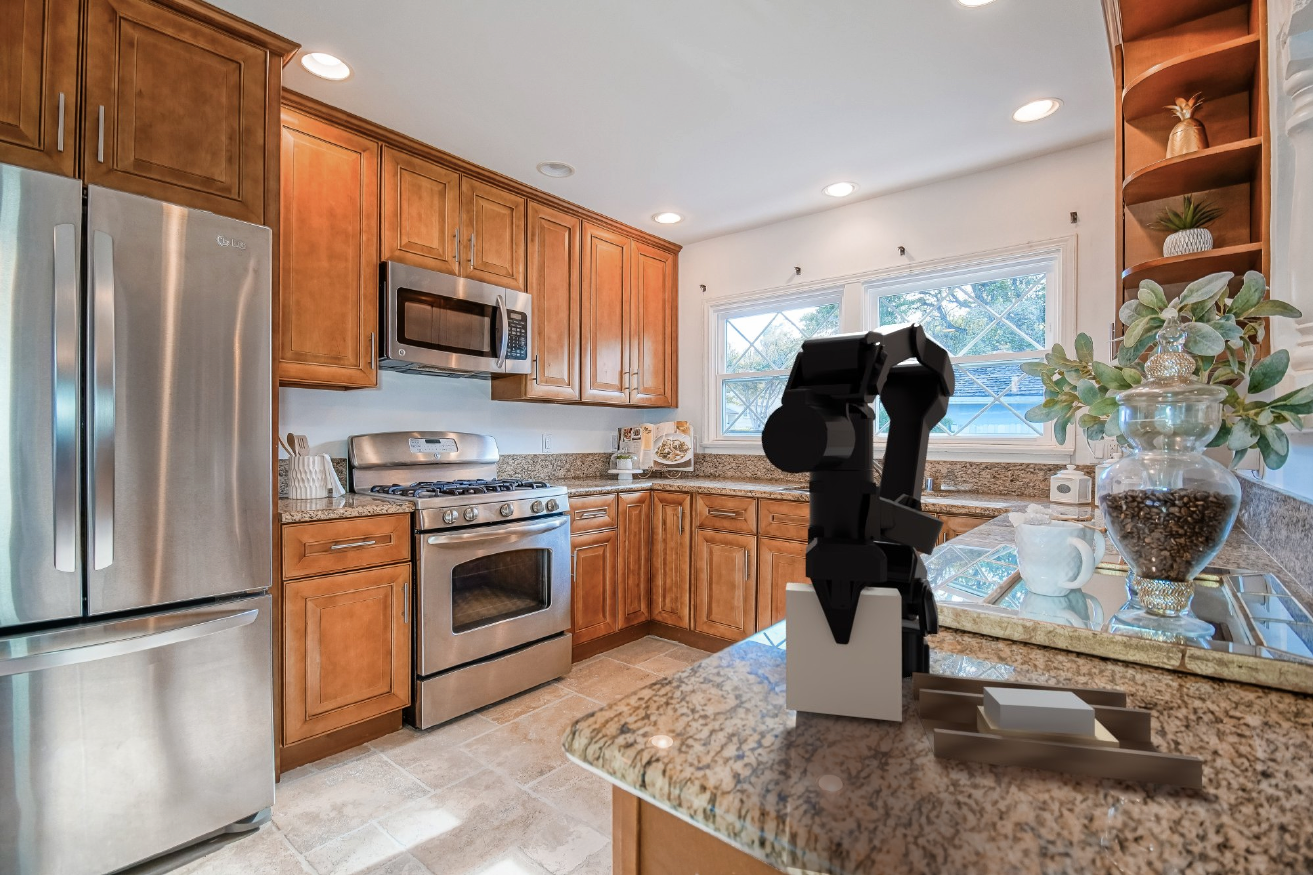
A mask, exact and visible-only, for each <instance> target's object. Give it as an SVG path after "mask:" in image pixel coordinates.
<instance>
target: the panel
mask: <svg viewBox="0 0 1313 875" xmlns="http://www.w3.org/2000/svg"><path fill="white" fill-rule="evenodd" d="M902 680H903V678H902V627H901V595H900V593H899V591H898V589H894V588H876V587H865V588H864V589H863V590H862V591H861V593H860V597H859V601H858V605H857V610H856V614H855V618H854V623H853V627H852V631H851V636H850V640H849V643H848V644H846V645H845V644H837V643H836V642H835V639H834V637H833V634H832V632H831V629H830V627H829V624H828V622H827V619H826V617H825V614H824V612H823V609H822V607H821V604H820V602H819V599H818V597H817V595H816V592H815V590H814V587H813V585H812V583H803V582H802V583H801V582H800V583H799V582H787V583H786V587H785V710H788V711H798V712H808V713H817V714H826V715H827V714H828V715H838V716H846V717H856V718H865V719H866V718H867V719H874V720H875V719H876V720H884V721H894V722H902V721H903V716H902V715H903V698H902V697H903V694H902V693H903V690H902V689H903V688H902V686H903V685H902V684H903V683H902V682H903V681H902Z"/></svg>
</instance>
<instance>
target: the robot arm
mask: <svg viewBox="0 0 1313 875" xmlns="http://www.w3.org/2000/svg"><path fill="white" fill-rule="evenodd" d="M800 348H801V350H799V351H798V352H797V353H796V356H795V359H794V361H793V365H792V368H791V370H790V373H789V375H788V378H787V382H786V385H785V388H784V389H783V393H782V396H781V398H780V403H781V405H780V406H779V407H777V408H776V409H775V410H773V411H772V413H771V414H770V415H769V416H768V418H767V420H766V422H764V427H763V430H762V431H761V437H760V438H761V439H760V440H761V446H762V451H763V452H764V455H765V456H766V458H767V460H768V462H769V463H770V464H772V466H774V467H775V468H776V469H778V470H779V471H782V472H784V473H788V474H794V475H795V474H797V475H798V474H807V473H808V474H809V477H808V478H809V479H808V480H809V481H808V493H809V500H808V501H809V502H808V504H809V508H808V509H809V510H808V512H809V517H808V518H809V524H808V526H807V546H806V547H805V554H804V555H805V558H804V559H805V564H804V565H805V568H804V569H805V572H804V574H805V578H808V579H809V580H810V582H811V584H812V585H813V587H814V590H815V592H816V595H817V597H818V599H819V602H820V604H821V607H822V609H823V612H824V614H825V617H826V619H827V622H828V624H829V627H830V629H831V632H832V634H833V637H834V639H835V642H836V643H837V644H845V645H846V644H848V643H849V640H850V636H851V631H852V627H853V623H854V618H855V614H856V610H857V605H858V601H859V597H860V593H861V591H862V590H863V589H864V588H865V587H876V588H894V589H898V591H899V593H900V595H901V627H902V679H907V678H908V679H909V678H913V672H916V673H927V674H931V673H930V672H931V670H930V668H931V667H930V664H931V663H930V662H931V661H930V660H931V659H930V657H931V655H930V652H931V648H930V647H931V646H930V644H929V643H928V641H927V638H928V636H929V635H930V636H932V635H933V636H934V635H938V634H940V629H939V628H940V626H939V624H940V622H939V619H940V618H939V613H938V612H939V608H938V605H937V604H938V603H937V601H936V599H935V594H934V593H933V592H934V591H933V589H932V587H931V583H930V581H929V579H928V569H927V567H926V565H925V563H924V561H923V558H922V557H921V555H920V553H922V554H924V555H927V556H932V554H933V551H934V548H936V547H935V546H936V543H937V541H938V540H939V536H940V533H941V531H942V529H943V525H944V523H945V521H943V520H941V518H938V517H936V516H933V515H932V514H930V513H928V512H923V506H922V501H921V500H922V493H923V488H924V479H925V478H924V477H925V472H926V471H925V470H926V463H927V455H928V448H929V442H930V434H931V431H932V430H933V429H934V428H935V427H936V426H937V425H938V424H939V423H940V422H941V421H942V420H943V419H944V418H945V417H946V415H947V413H948V408H949V401H950V397H953V396H954V394H955V390H956V389H955V388H956V377H955V375H956V374H955V371H954V368H953V365H952V362H951V359H950V356H949V353H948V351H947V350H946V349H945V348H943V347H942V346H940V345H938V343H936V342H934V341H932V340H931V339H930V338H928V337H927V335H926V333H925V329H924V327H923V325H922V324H921V323H915V322H905V323H897V324H896V323H895V324H889V325H882V326H880V327H878V328H875V329H874V330H873V331H872V330H868V331H860V332H850V333H839V334H832V335H831V334H830V335H829V334H828V335H823V336H813V337H806V338H805V340H803V342H802V343H801V346H800ZM909 359H916V360H912V361H911V360H909ZM908 360H909V361H908ZM877 396H879V401H880V403H881V405H882V407H883V409H884V410H885V412H886V414H887V416H888V418H889V424H888V432H887V438H886V443H885V450H884V457H883V462H882V470H881V476H880V483H879V484H877V482H876V481H875V480H874V478H875V475H874V421H875V420H876V418H877V417H876V412H875V411H874V409H873V407H871V406H870V405H869V404H873V403H874V401H875V400H876V398H877Z"/></svg>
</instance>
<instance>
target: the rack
mask: <svg viewBox="0 0 1313 875" xmlns="http://www.w3.org/2000/svg"><path fill="white" fill-rule="evenodd" d="M984 687H994V688H1012V689H1030V690H1047V691H1065V692H1072V693H1073V694H1075V695H1076V696H1077V697H1079V698H1080V699H1081V700H1083V701H1084V702H1085V703H1086V704H1088V705H1089V706H1090V707H1092V708H1093V709H1094V710H1095V719H1096V720H1097V721H1098V722H1099V723H1100V724H1101V725H1102V726H1103V727H1104V728H1105V729H1106V730H1107V731H1108V732H1109V733H1110V734H1111V735H1112V736H1114V737H1115V738H1116V739H1117V740H1118V741H1119V748H1110V747H1101V746H1091V745H1082V744H1073V743H1064V742H1054V741H1045V740H1036V739H1027V738H1017V737H1008V736H999V735H990V734H981V733H979V731H978V729H977V706H984ZM909 692H910V695H911V697H912V699H913V703H914V705H915V708H916V711H917V714H918V716H919V719H920V722H921V723H922V726H923V729H924V732H925V735H926V737H927V739H928V742H929V745H930V747H931V750H932V753H933V756H934V758H937V759H947V760H952V761H954V760H955V761H961V762H963V761H964V762H971V763H977V764H978V763H980V764H986V765H987V764H988V765H996V766H1004V767H1013V768H1022V769H1029V770H1036V771H1037V770H1039V771H1046V772H1054V773H1055V772H1056V773H1062V774H1071V775H1079V776H1088V777H1096V778H1106V779H1111V780H1112V779H1114V780H1122V781H1129V782H1130V781H1131V782H1137V783H1147V784H1154V785H1163V786H1170V787H1172V786H1173V787H1179V788H1188V789H1189V788H1190V789H1197V790H1203V760H1202V759H1200V758H1199V757H1198V756H1192V755H1181V754H1174V753H1163V752H1162V751H1161V750H1160V749H1159V748H1158V747H1157V746H1156V745H1154V744H1153V743H1152V726H1151V724H1152V720H1151V719H1152V712H1150V711H1149V710H1148V709H1140V708H1129V707H1127V693H1126V692H1125V691H1124V690H1119V689H1118V690H1117V689H1107V688H1098V687H1096V688H1095V687H1084V686H1073V685H1061V684H1052V683H1051V684H1050V683H1039V682H1027V681H1017V680H1007V679H1006V680H1004V679H995V678H984V677H972V676H971V677H970V676H959V675H949V674H947V675H946V674H940V673H939V674H938V673H937V674H936V673H930V674H927V673H916V672H913V677H912V691H909Z"/></svg>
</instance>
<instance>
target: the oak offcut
mask: <svg viewBox="0 0 1313 875" xmlns="http://www.w3.org/2000/svg"><path fill="white" fill-rule="evenodd" d="M977 729H978V731H979V733H981V734H990V735H999V736H1008V737H1017V738H1027V739H1036V740H1045V741H1054V742H1064V743H1073V744H1082V745H1091V746H1101V747H1110V748H1119V741H1118V740H1117V739H1116V738H1115V737H1114V736H1112V735H1111V734H1110V733H1109V732H1108V731H1107V730H1106V729H1105V728H1104V727H1103V726H1102V725H1101V724H1100V723H1099V722H1098V721H1097V720H1096V719H1095V735H1084V734H1068V733H1053V732H1037V731H1022V730H1007V729H1000V728H999V727H998V726H997V725H996V724H995V722H994V721H993V720H992V719H991V718H990V717H989V716H988V714H987V713H986V712H985V711H984V706H977Z"/></svg>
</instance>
